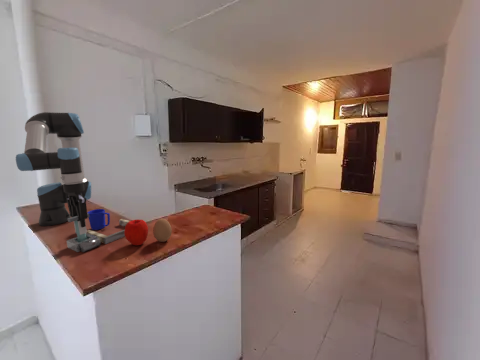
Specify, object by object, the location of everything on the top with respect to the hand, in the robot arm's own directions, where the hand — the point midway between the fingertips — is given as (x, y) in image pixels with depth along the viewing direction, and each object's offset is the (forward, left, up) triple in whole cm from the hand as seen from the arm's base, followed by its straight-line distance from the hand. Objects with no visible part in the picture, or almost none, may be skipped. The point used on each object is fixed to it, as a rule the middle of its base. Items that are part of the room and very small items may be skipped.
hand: (81, 232), depth 106 cm
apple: (+22, +13, -7) cm, 26 cm away
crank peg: (0, 0, -5) cm, 5 cm away
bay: (-2, +16, -7) cm, 17 cm away
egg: (+30, +21, -7) cm, 37 cm away
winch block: (+2, 0, -7) cm, 7 cm away
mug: (-14, +16, -7) cm, 22 cm away
